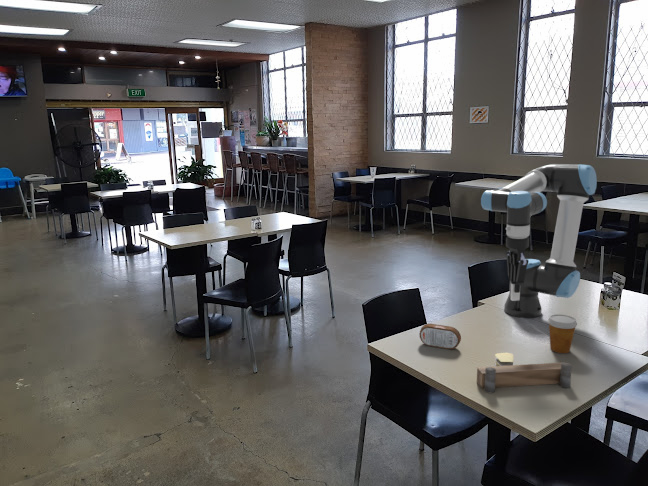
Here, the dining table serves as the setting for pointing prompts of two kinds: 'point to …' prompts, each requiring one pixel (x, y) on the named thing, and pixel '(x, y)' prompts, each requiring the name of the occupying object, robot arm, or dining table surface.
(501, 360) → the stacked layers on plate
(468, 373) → the dining table surface
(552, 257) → the robot arm
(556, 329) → the disposable coffee cup
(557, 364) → the bar
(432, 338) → the tin
